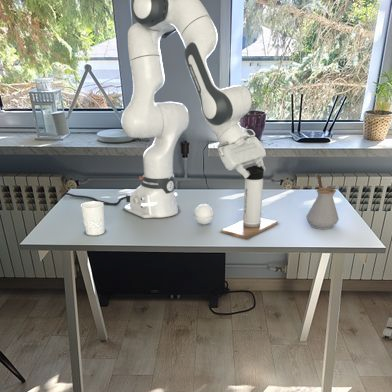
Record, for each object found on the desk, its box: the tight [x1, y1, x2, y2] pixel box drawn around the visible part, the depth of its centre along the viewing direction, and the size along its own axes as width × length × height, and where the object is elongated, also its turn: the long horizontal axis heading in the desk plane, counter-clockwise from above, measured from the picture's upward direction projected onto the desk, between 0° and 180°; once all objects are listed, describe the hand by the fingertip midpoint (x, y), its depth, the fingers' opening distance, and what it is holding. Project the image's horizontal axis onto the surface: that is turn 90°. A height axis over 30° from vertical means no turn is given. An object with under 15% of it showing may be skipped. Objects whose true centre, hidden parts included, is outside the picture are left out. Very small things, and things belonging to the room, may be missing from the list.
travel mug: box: [242, 165, 265, 227], centre depth 177 cm, size 6×7×20 cm
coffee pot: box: [306, 172, 340, 230], centre depth 183 cm, size 21×12×15 cm, turn 0°
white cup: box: [80, 200, 106, 236], centre depth 177 cm, size 8×8×10 cm
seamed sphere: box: [193, 203, 215, 226], centre depth 183 cm, size 10×7×7 cm
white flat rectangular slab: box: [221, 216, 279, 240], centre depth 182 cm, size 11×20×1 cm, turn 140°
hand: (255, 174), depth 172 cm, fingers open, 8 cm apart
